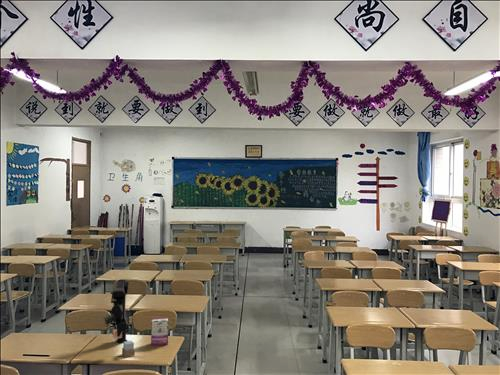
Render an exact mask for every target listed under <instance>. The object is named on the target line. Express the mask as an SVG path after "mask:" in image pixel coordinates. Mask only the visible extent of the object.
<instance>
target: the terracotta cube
mask: <svg viewBox="0 0 500 375" xmlns="http://www.w3.org/2000/svg"><path fill="white" fill-rule="evenodd" d="M112 338H113V339H114V340H117V339H118V338H122V333H121V335H120V337H118V336H117V329H114V328H113V329H112Z"/></svg>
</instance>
